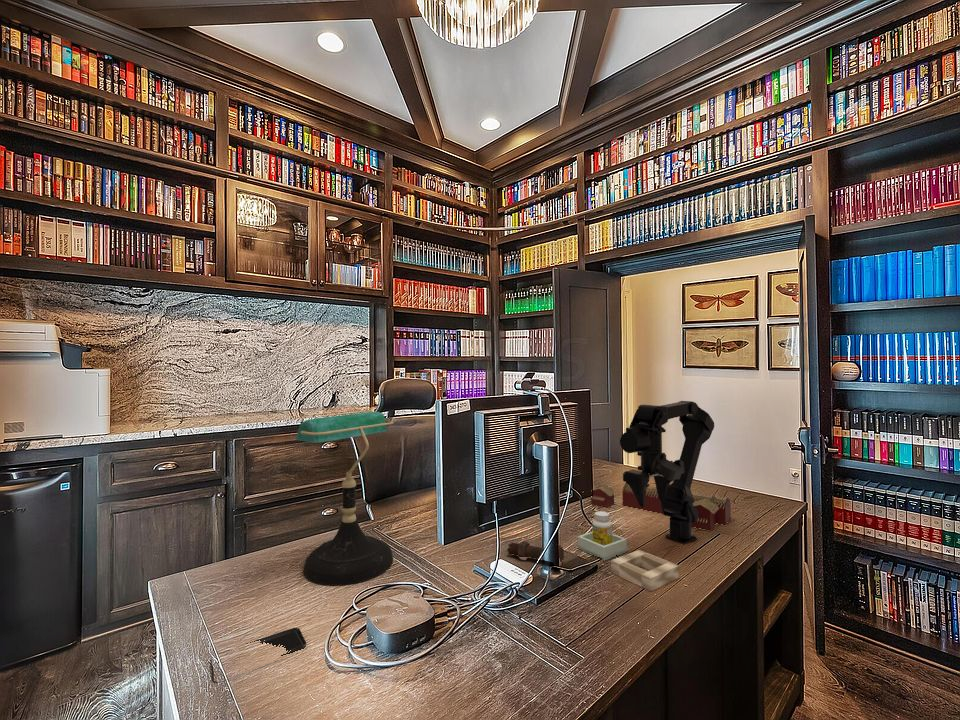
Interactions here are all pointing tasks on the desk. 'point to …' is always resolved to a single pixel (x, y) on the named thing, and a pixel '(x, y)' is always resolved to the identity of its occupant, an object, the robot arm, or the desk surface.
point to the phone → (286, 640)
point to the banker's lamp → (346, 510)
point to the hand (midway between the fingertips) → (652, 503)
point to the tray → (599, 550)
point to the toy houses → (706, 506)
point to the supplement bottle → (602, 528)
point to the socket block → (649, 580)
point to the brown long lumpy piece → (529, 550)
